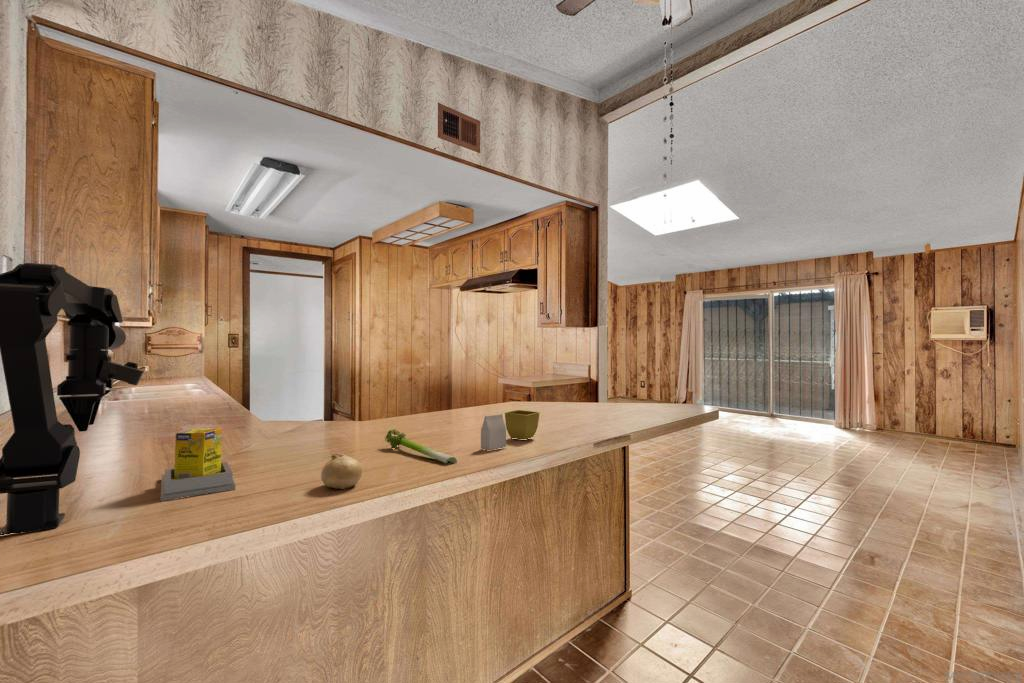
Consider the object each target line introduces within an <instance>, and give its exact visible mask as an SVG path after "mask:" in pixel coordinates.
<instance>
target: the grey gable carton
mask: <svg viewBox="0 0 1024 683" xmlns="http://www.w3.org/2000/svg"><path fill="white" fill-rule="evenodd" d="M504 420H505V419H504V417H503V414H502V413H500V414H499V413H498V414H493V415H492V414H491V415H485V416H484V419H483V422H482V425H481V428H480V449H481V448H482V449H485V450H489V451H490V450H494V449H498V448H503V447H506V448H507V428H506V422H505V421H504Z"/></svg>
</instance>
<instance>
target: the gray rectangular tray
mask: <svg viewBox="0 0 1024 683" xmlns="http://www.w3.org/2000/svg"><path fill="white" fill-rule="evenodd" d="M174 471H175V467H174V468H173V467H172V468H165V469H164V474H161V484H160V487H161V488H160V502H166V501H171V499H173V500H176V499H175V498H179V499H182V498H181V497H185V498H188V497H187V496H191V497H195V495H197V496H202V494H204V495H209V494H208V493H210V494H215V493H214V492H216V493H221V492H220V491H222V492H227V490H229V491H233V489H235V490H236V483H235V480H234V478H233V471H232V469H231V467H230V465H229V463H228V461H221V473H215V474H208V475H201V476H193V477H186V478H179V479H174Z"/></svg>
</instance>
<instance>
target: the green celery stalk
mask: <svg viewBox="0 0 1024 683" xmlns="http://www.w3.org/2000/svg"><path fill="white" fill-rule="evenodd" d="M406 436H407V435H406V433H404V432H400V431H399V430H397V429H390V430H388V431H387V432H386V436H385V437H384V441H386V443H388V444H390V446H391V447H390V449H392V448H398V447H397V445H398V446H403V447H406V448H408V449H411V450H414V451H415V452H418V453H421V454H423V455H425V456H427V457H430V458H433V459H435V460H437V461H439V462H442V463H444V464H448V463H451V462H453V463H452V464H457V463H458V460H457V458H456V457H455V456H452V455H449V454H446V453H443V452H439V451H437V450H433V449H431V448H428V447H426V446H423V445H421V444H419V443H416V442H413V441H412V440H410V439H408V438H406ZM448 461H450V462H448Z"/></svg>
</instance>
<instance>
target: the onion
mask: <svg viewBox="0 0 1024 683" xmlns="http://www.w3.org/2000/svg"><path fill="white" fill-rule="evenodd" d="M330 455H331V456H330V458H331V459H330V460H328V461H327V462H326V463H325V465H324V466H323V467H322V471H321V473H320V476H321V481H322V483H323V484H324V486H326V487H327V488H333V489H336V490H347V489H350V488H352V487H353V486H355V485H356V484H357V483H358V482H359V481H360V480H361V477H362V474H363V471H362V470H363V469H362V467H361V464H360V463H359V461H358V460H356V459H355V458H354V457H351V456H349V455H345V454H344V453H343V452H341V453H334V454H333V453H330Z"/></svg>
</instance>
